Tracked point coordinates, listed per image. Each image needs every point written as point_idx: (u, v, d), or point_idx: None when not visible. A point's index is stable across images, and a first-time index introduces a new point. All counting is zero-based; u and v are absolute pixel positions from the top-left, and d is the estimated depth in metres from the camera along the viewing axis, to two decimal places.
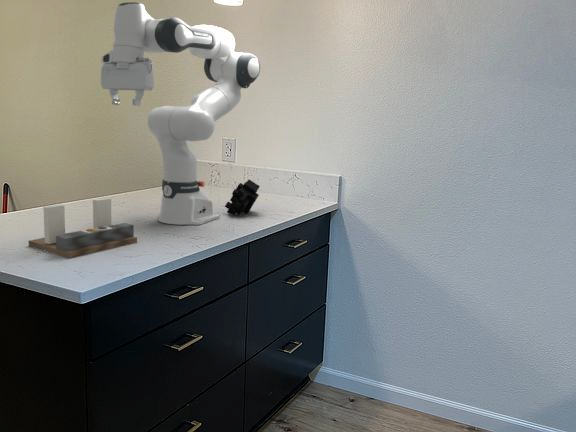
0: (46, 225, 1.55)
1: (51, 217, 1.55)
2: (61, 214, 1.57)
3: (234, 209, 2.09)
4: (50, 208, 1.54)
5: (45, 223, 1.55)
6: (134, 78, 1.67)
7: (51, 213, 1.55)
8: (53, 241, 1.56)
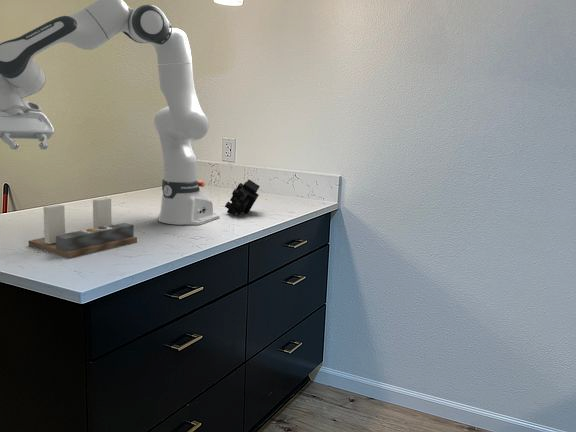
0: (46, 225, 1.55)
1: (51, 217, 1.55)
2: (61, 214, 1.57)
3: (234, 209, 2.09)
4: (50, 208, 1.54)
5: (45, 223, 1.55)
6: None
7: (51, 213, 1.55)
8: (53, 241, 1.56)
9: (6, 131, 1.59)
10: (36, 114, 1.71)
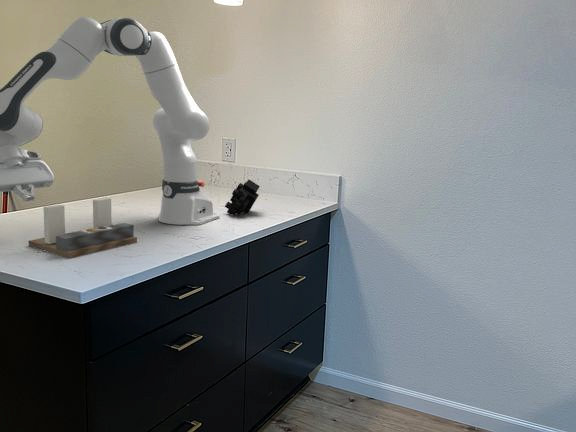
0: (46, 225, 1.55)
1: (51, 217, 1.55)
2: (61, 214, 1.57)
3: (234, 209, 2.09)
4: (50, 208, 1.54)
5: (45, 223, 1.55)
6: None
7: (51, 213, 1.55)
8: (53, 241, 1.56)
9: (4, 185, 1.57)
10: (36, 162, 1.68)
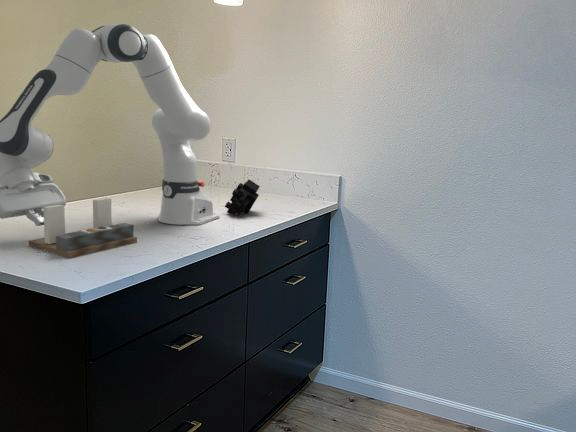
0: (46, 225, 1.55)
1: (51, 217, 1.55)
2: (61, 214, 1.57)
3: (234, 209, 2.09)
4: (50, 208, 1.54)
5: (45, 223, 1.55)
6: None
7: (51, 213, 1.55)
8: (53, 241, 1.56)
9: (17, 210, 1.56)
10: (48, 185, 1.66)
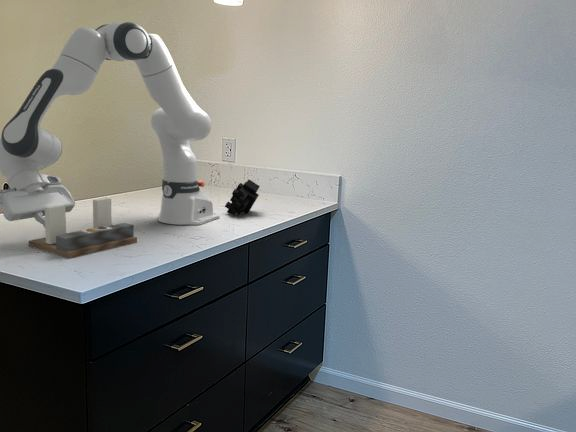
0: (47, 225, 1.55)
1: (52, 217, 1.54)
2: (62, 214, 1.57)
3: (234, 209, 2.09)
4: (51, 208, 1.54)
5: (46, 223, 1.55)
6: None
7: (52, 213, 1.54)
8: (54, 241, 1.56)
9: (25, 212, 1.53)
10: (56, 187, 1.64)
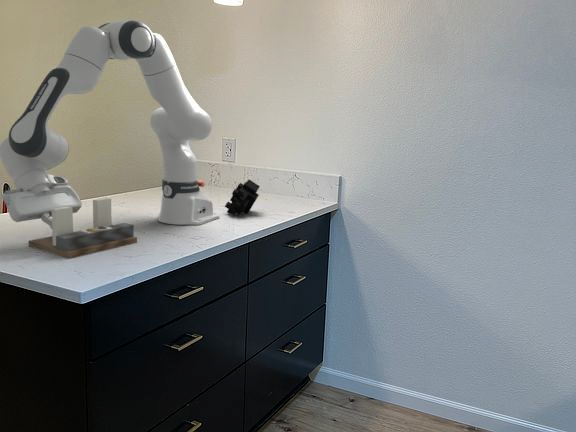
0: (54, 227, 1.53)
1: (59, 219, 1.53)
2: (69, 216, 1.55)
3: (234, 209, 2.09)
4: (58, 210, 1.52)
5: (53, 225, 1.53)
6: None
7: (60, 215, 1.53)
8: None
9: (32, 213, 1.52)
10: (63, 188, 1.63)
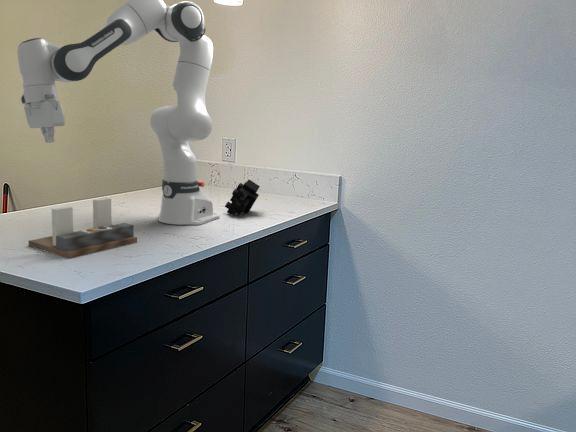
0: (54, 227, 1.53)
1: (59, 219, 1.53)
2: (69, 216, 1.55)
3: (234, 209, 2.09)
4: (58, 210, 1.52)
5: (53, 225, 1.53)
6: (45, 116, 1.66)
7: (60, 215, 1.53)
8: None
9: None
10: None
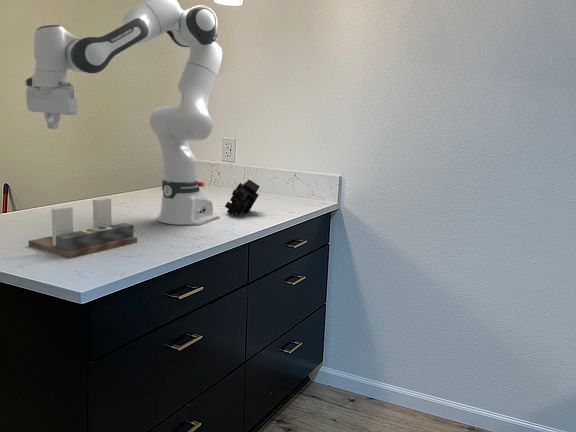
0: (54, 227, 1.53)
1: (59, 219, 1.53)
2: (69, 216, 1.55)
3: (234, 209, 2.09)
4: (58, 210, 1.52)
5: (53, 225, 1.53)
6: (57, 103, 1.67)
7: (60, 215, 1.53)
8: None
9: None
10: None
